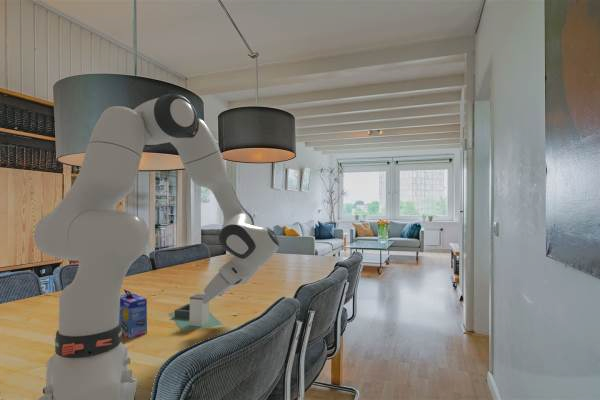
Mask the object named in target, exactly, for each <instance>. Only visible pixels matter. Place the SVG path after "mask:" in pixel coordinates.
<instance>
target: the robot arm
mask: <svg viewBox="0 0 600 400" xmlns="http://www.w3.org/2000/svg"><path fill="white" fill-rule="evenodd" d="M194 107H195V106H193V104H192V103H191V102H190V100H189V99H187V98H186V96H183V95H182V94H177V93H170V94H169V93H167V94H163V95H161V96H159V97H157V98H153V99H150V100H148V101H147V100H146V101H145V102H143V103H141V104H140V105H137V107H134V108H132V109H131V108H129V107H127V106H123V105H122V106H120V105H115V106H110V107H107V108H106V109H105V110H103V112H102V114H101V115H100V117H99V118H98V120H97V122H96V124H95V126H94V128H93V130H92V133H91V135H90V138H89V141H88V144H87V148H86V151H85V154H84V156H83V159H82V162H81V165H80V167H79V168H80V169H79V170H78V171H79V172H78V174H77V175H76V178H75V180H74V182H73V183H72V185H71V187H70V189H69V190H68V192H67V193H66V194H65V196H64V197H63V199H62V200H61V201H59V202H60V203H59V204H57V205H56V207H55V208H54V209H53V210H52V211H50V212H49V213H48V214H46V215H44V216H43V217H41V219H40V220H39V221H38V222H37V224H36V226H35V228H34V231H33V240H34V244H35V246H36V247H37V249H38V250H40V252H42V253H44V254H46V255H47V256H51V257H52V258H53V257H54V258H56V259H59V260H64V261H75V262H77V261H78V267H77V271H76V274H75V277H74V279H73V280H72V282H71V283H69V284H68V285H66V286H65V287H64V288H63V289H62V291H61V292H60V293H59V297H58V330H57V331H56V333H55V338H54V345H55V346H54V354H53V355H52V356H51V357H50V358H48V360H46V371H45V372H46V373H45V375H46V377H45V386H44V387H43V389H42V394H43V395H41V396H39V397H38V398H36V399H35V400H134V396H135V397H136V395H135V390H136V391H137V389H136V386H137V387H138V384H137V382H138V381H139V380H138V377H136V376H133V369H128V368H129V367H128V366H129V365H130V364H131V357H130V356H129V357H128V353H129V352H128V351H129V347H128V346H127V345H126V344H124V343H123V342H122V328H121V322H120V321H119V313H120V295H122V294H121V292H122V288H123V283H124V280H125V278H126V275H127V273H128V270H130V267H131V266H132V264H133V263H134V262H135V261H137V259H139V258H140V257H141V256H142V255H143V253H145V251H146V249H147V247H148V245H149V242H150V241H149V240H150V232H149V227H148V225H147V223H146V221H145V220H144V219H143V218H142V217H140V215H136V214H132V213H131V212H130V213H129V212H126V211H122V210H116V209H115V210H113V209H114V208H115V206H116V205H117V204H118V203H119V202H120V201H121V200H123V198H125V197H126V196H128V195H129V194H130V193H132V191H133V190H134V188H135V184H136V180H137V176H138V172H139V168H140V165H141V160H142V157H143V150H144V148H145V147H147V148H151V147H154V146H156V145H161V144H167V143H170V144H171V145H172V146H173V147H174V148H175V149H176V150H177V153H178V155H179V158H180V160H181V163H182V165H183V167H184V170H185V171H186V174H187V175H188V176H189V178H190V179H191V180H192V182H193V184H195V185H197V186H199V187H203V188H206V189H209V191H211V193H212V194H213V196H214V197H215V200H216V202H217V203H218V206H219V208H220V210H221V212H222V214H223V215H222V216H223V223H222V226H221V228H220V230H219V231H220V232H219V235H218V241H219V245H220V246H221V248H222V249H223V250H225V251H226V252H228V253H229V254H231V255H233V256H232V257H231V258H230V259H229V260H228V261H227V262H226V263H225V264H223V265H222V266H220V268H219V269H218V273H216V275H215V276H214V277H213V278H211V280H210V281H209V283H208V284H207V285H206V286H205V288H204V289H203V293H204V294H205V297H204V298H203V299H202V302H203V303H204V304H207V303H208V302H209V303H210V301H211V300H213V299H215V298H216V297H221V296H222V295H224V294H225V293H226V292H227V291H230V290H231V289H233V288H236V287H237V286H239V285H240V284H247V282H249V280H251V279H252V278H253V277H254V276H255V275H256V273H257V272H258V271H259V269H260V268H261V267H263V266H264V265H266V264H267V262H268V261H270V260H271V258H272V257H273V256H274V255H275V254H276V253H277V251H278V249H279V247H280V243H279V238H278V236H277V235H276V234H275V232H274V231H273V230H272V229H271V228H270V227H268V226H263V227H262V226H256V225H255V221H254V218H253V216H252V214H251V213H250V212H249V211H248V210H247V209H245V208H244V206H242V204H241V203H240V200H239V198H238V196H237V194H236V192H235V190H234V187H233V185H232V183H231V181H230V178H229V175H228V172H227V171H228V170H227V168H226V164H225V160H224V158H223V154H222V152H221V150H220V147H219V145H218V143H217V141H216V139H215V136H214V135H213V134H212V131H211V130H210V128H209V127H208V125H207V124H206V123H205V121H204V120H203V119H201V118H199V115H198V114H197V111H196V109H195V108H194ZM130 383H132V384H130ZM138 383H139V382H138Z"/></svg>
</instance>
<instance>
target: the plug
mask: <svg viewBox="0 0 600 400" xmlns="http://www.w3.org/2000/svg"><path fill="white" fill-rule="evenodd" d="M205 295H206V294H205V293H204V294H203V293H202V294H201V293H196V294H193V295H191V296H190V297H189V304H190V318H189V325H191V326H201V327H202V326H204V325H205V324H207V323H208V322H209V312H210V301H209V302H208V303H207V304H204V303H203V302H202V299H203V298H204V297H205Z"/></svg>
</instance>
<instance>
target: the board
mask: <svg viewBox="0 0 600 400" xmlns="http://www.w3.org/2000/svg"><path fill="white" fill-rule="evenodd" d="M168 315H169V316H170V318H171V319H172V320H173V321H174V323H175V325H177V327H178V328H179V330H180V331H181V332H187V331H193V330H198V329H199V330H200V329H205V328H206V329H207V328H211V327H217V326H224V324H223V323H222V322H221V321H220V320H219V319H218V318H217V317H215V316H214V315H213V314H212V313H211V312H210V311H209V322H208V323H207V324H205V325H204V326H202V327H201V326H191V325H189V318H190V303H186V304H185V305H182V306H181V307H178V308H176V309H174V312H168Z"/></svg>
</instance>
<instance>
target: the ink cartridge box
mask: <svg viewBox="0 0 600 400" xmlns="http://www.w3.org/2000/svg"><path fill="white" fill-rule="evenodd" d="M123 291H124V293H125V294H121V295H120V313H119V321H120V322H121V328H122V334H121V336H122V335H123V336H124V337H125V338H129V339H132V338H133V339H134V338H137V337H141V336H144V335H147V334H148V303H147V301H148V300H147V298H146V297H144V296H140V295H138V294H136V293H133V292H131V291H130V290H127V289H123Z"/></svg>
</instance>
